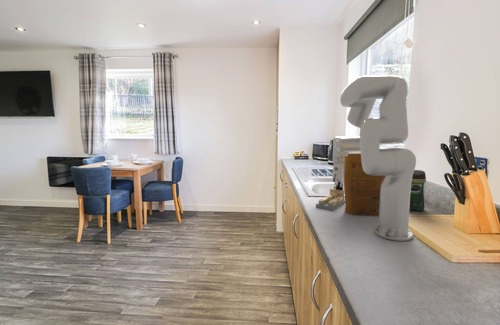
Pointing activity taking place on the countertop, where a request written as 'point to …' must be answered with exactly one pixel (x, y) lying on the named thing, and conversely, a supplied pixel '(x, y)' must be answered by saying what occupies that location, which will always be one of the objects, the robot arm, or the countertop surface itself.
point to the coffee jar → (417, 191)
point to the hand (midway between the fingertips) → (339, 194)
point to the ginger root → (334, 200)
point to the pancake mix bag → (360, 188)
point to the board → (331, 206)
